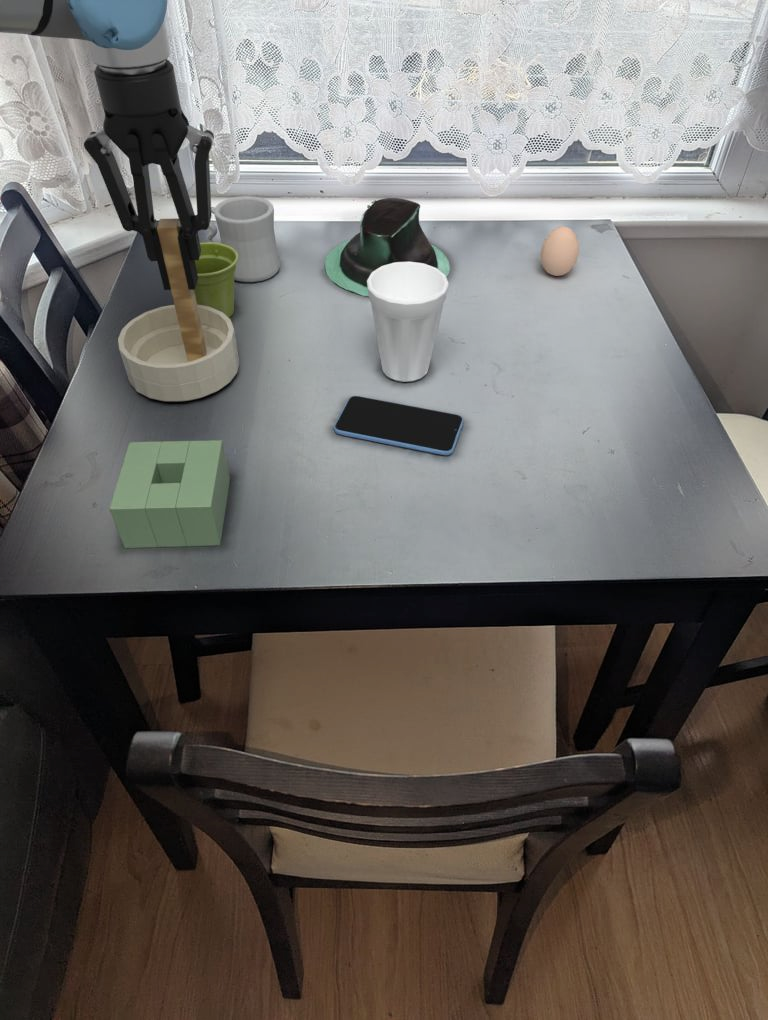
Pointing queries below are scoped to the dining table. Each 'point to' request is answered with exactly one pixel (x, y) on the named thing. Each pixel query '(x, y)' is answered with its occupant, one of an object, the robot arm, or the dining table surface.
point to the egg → (560, 251)
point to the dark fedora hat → (383, 245)
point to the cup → (406, 316)
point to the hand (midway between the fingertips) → (181, 283)
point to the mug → (248, 236)
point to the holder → (171, 494)
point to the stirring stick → (181, 290)
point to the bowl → (177, 355)
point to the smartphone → (399, 425)
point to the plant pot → (216, 277)
